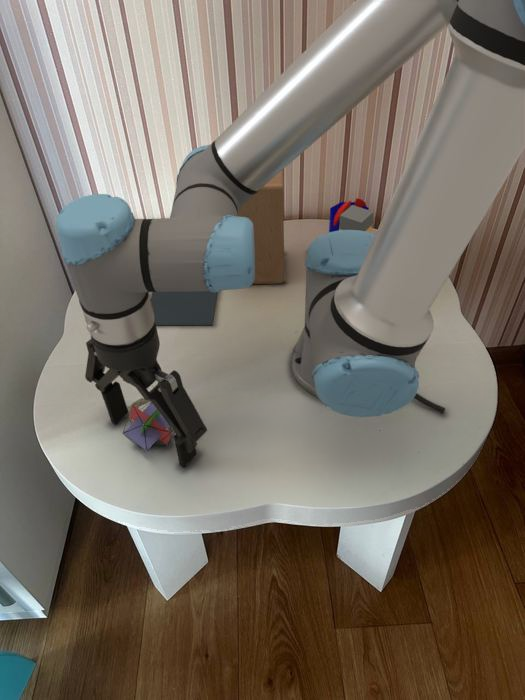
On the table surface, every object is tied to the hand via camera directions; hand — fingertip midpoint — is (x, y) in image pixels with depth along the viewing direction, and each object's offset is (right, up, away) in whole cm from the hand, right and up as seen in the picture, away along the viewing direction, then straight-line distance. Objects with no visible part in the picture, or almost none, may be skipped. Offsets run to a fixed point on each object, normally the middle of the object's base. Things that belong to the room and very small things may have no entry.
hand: (153, 438), depth 80 cm
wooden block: (+15, +28, +28) cm, 43 cm away
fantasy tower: (+32, +31, +30) cm, 54 cm away
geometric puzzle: (0, 0, 0) cm, 0 cm away
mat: (+1, +22, +22) cm, 31 cm away
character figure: (+31, +20, +20) cm, 42 cm away
